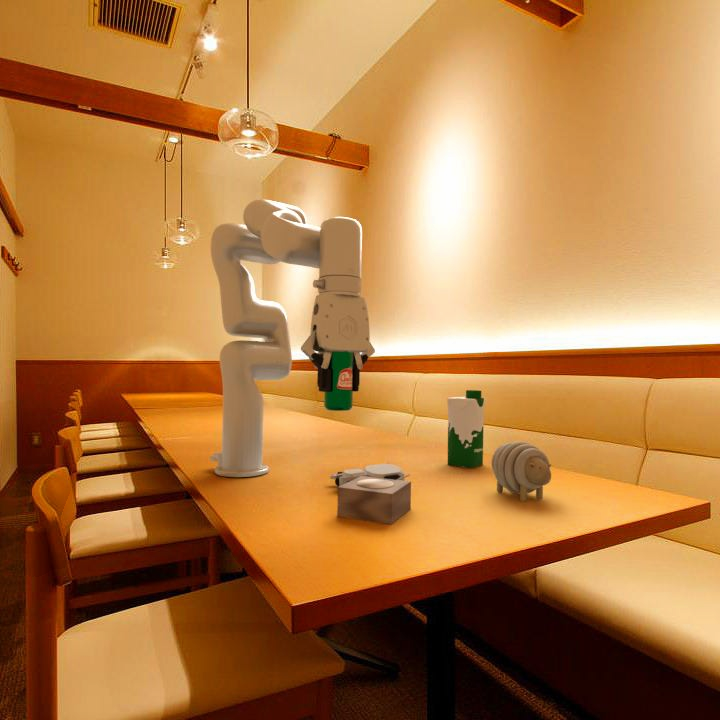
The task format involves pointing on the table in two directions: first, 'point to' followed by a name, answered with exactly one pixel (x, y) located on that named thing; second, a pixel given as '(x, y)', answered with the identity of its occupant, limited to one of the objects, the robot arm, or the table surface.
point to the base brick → (374, 499)
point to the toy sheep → (521, 469)
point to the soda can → (340, 382)
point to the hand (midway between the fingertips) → (338, 390)
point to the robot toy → (370, 473)
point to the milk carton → (466, 429)
